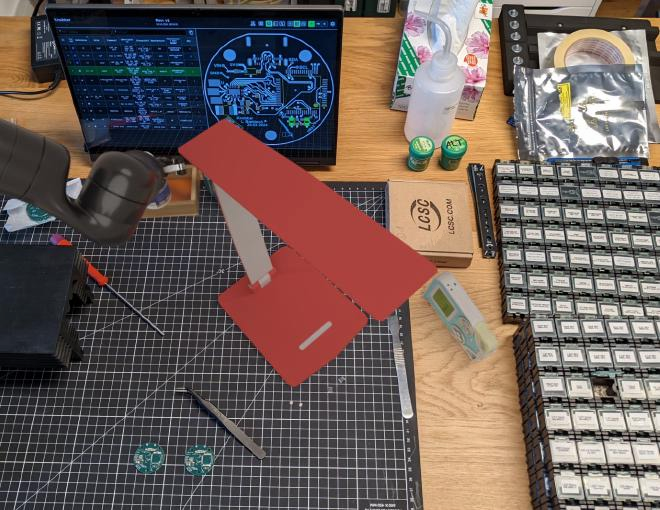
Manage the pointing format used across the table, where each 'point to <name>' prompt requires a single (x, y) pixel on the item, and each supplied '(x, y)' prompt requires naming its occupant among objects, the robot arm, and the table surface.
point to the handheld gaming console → (461, 316)
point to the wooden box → (180, 195)
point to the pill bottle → (161, 196)
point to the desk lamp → (300, 254)
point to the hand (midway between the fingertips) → (146, 167)
